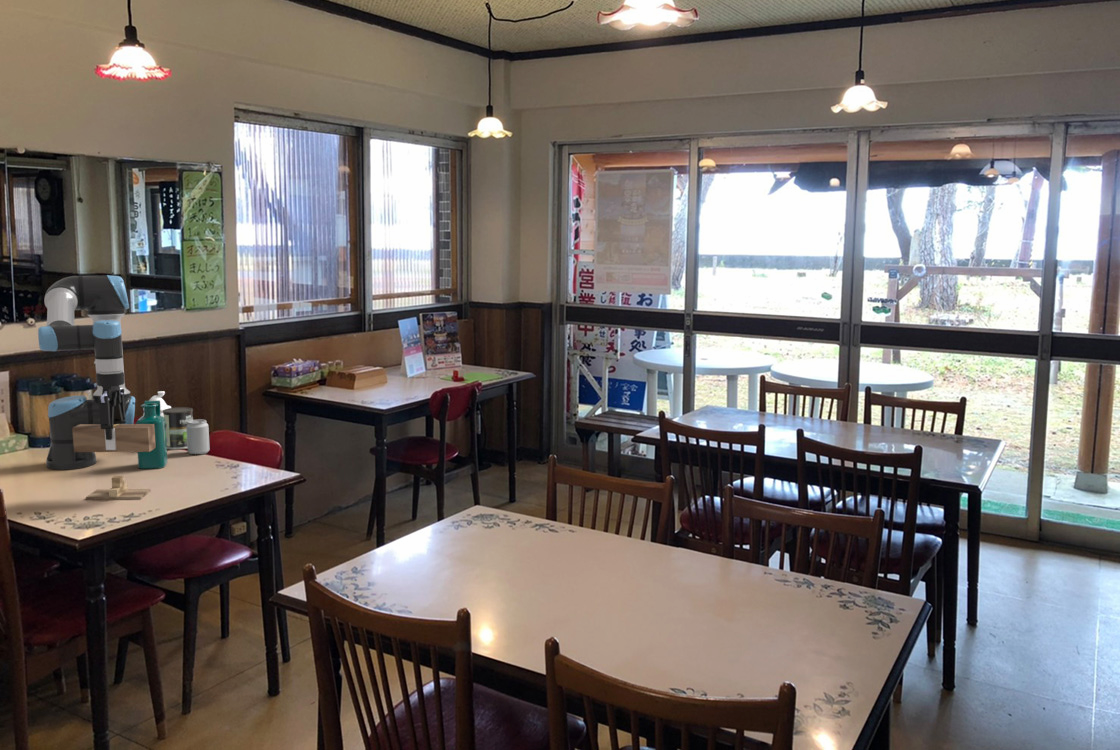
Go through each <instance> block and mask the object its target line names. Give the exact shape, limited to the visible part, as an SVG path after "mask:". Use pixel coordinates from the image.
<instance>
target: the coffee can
mask: <svg viewBox="0 0 1120 750" xmlns="http://www.w3.org/2000/svg"><path fill="white" fill-rule="evenodd" d="M193 410H194V409H193V408H192V407H187V406H182V407H180V406H179V407H171V408H168V409H165V410H163V417H164V418H165V424H166V441H167V450H186V449H188V447H187V429H186V426H187V425H188V422H189V421H191V420H194V416H193Z"/></svg>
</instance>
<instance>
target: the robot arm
mask: <svg viewBox="0 0 1120 750" xmlns="http://www.w3.org/2000/svg"><path fill="white" fill-rule="evenodd" d="M44 306H45V307H46V309H47V311H46V313H47V314H46V316H47V317H46V326H40V327H38V329H37V334H38V335H37V337H38V346H39V349H40V351H43V352H61V351H63V352H64V351H80V350H81V351H83V350H94V361H93V364H94V365H95V372H96V374H95V378H96V387H97V389H96V390H95V391H94V393H93V394H92V396H93V398H92V399H87V397H86V396H85V395H84V394H83V395H81V394H80V395H79V394H78V395H70V396H65V397H62V398H58V399H57V398H56V399H54V400H53V401H51V402H49V404H48V408H47V413H48V415H47V417H48V422H49V423H48V424H49V437H50V439H49V440H50V446H49V449H48V453H47V457H46V460H45V462H46V467H47V468H48V469H50V470H63V471H64V470H77V469H82V468H86V467H90V466H92V465H95V464H96V463H97V455H96V452H74V444H73V431H72V428H73V427H75V426H78V425H80V424H101V429H105V443H106V450H116V437H115V428H113V424H134V423H135V422H134V420H135V411H136V398H135V396H133V395H131V391H130V390H129V389H127V387H126V381H125V370H124V369H125V367H124V354H123V352H124V351H123V349H124V348H123V338H122V332H123V331H122V321H121V320H122V318H123V317H124V316H125V315H126V310H128V309H129V308H130V304H129V299H128V293H127V289H126V285H125V281H124V279H123V278H122V277H121V276H119V275H108V274H107V275H72V276H71V275H70V276H66V277H63V278H61V279H60V280H59V279H58V280H57V281H55V282H54V283H53V284H51V286H49V287H48V289H47V290H46V292H45V295H44ZM75 311H86V312H87V313H86V316H87V317H89V318H90V319H91V320H92V324H81V325H79V324H78V325H75Z"/></svg>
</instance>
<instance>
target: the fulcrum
mask: <svg viewBox="0 0 1120 750" xmlns="http://www.w3.org/2000/svg"><path fill="white" fill-rule="evenodd" d="M128 486H129V485H128V481H127V482H125V478H124V475H123V474H122V475H121V474H119V475H117V474H116V475H114V476H112V477H111V488H107V489H105V488H102V489H101V488H100V489H96V490H94V491H93V492H91V493H90V494H88V495H87V496H86V497H85V500H87V501H90V500H92V501H95V500H98V501H99V500H101V501H102V500H106V501H107V500H142V499H143V498H144V497H145V496H147V495H148V494H149V493H151V492H152V491H151V489H150V488H129V487H128Z"/></svg>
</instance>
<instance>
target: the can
mask: <svg viewBox="0 0 1120 750" xmlns="http://www.w3.org/2000/svg"><path fill="white" fill-rule="evenodd" d="M186 429H187V447H188V448H187V452H188V454H190V455H192V454H195V455H194V456H197V455H196V454H201V455H205V454H208V453H209V451H210V449H211V448H210V434H209V432H210V429H209V424H208V423H207V420H206V419H193V420H191V421H189V422H188V425H187V426H186Z"/></svg>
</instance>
